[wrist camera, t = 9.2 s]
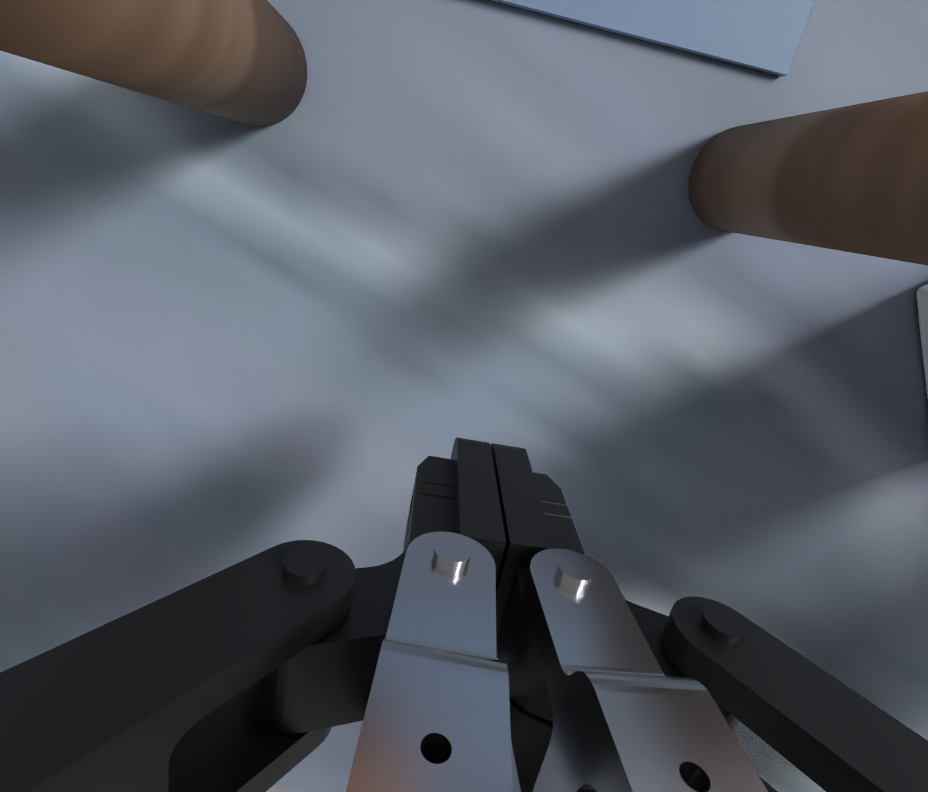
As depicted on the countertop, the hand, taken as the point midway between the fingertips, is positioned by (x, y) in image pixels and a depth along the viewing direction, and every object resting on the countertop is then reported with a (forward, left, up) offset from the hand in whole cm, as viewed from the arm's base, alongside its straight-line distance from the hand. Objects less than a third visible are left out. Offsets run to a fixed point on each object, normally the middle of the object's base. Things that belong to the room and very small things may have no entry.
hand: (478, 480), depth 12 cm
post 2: (-6, -7, -5) cm, 11 cm away
